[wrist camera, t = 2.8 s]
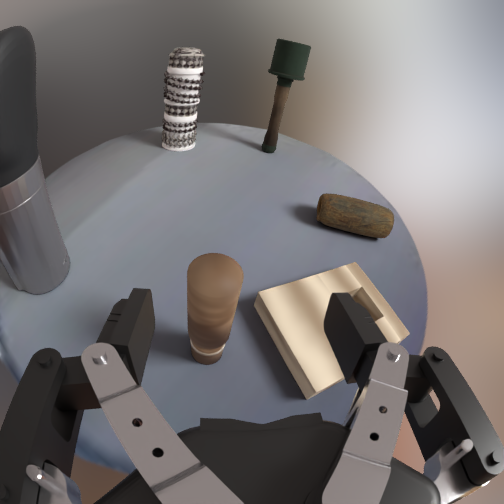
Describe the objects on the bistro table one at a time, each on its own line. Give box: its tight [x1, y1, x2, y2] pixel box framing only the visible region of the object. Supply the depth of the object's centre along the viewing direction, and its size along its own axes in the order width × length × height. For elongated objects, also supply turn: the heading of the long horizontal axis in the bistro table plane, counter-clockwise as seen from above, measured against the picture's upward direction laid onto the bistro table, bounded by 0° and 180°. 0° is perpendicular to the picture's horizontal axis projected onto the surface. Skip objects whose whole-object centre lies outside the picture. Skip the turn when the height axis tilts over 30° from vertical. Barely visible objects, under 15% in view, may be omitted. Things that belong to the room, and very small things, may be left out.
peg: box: [187, 253, 243, 365], centre depth 26 cm, size 4×4×14 cm
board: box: [254, 262, 410, 399], centre depth 35 cm, size 17×14×3 cm
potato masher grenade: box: [262, 39, 311, 153], centre depth 59 cm, size 8×9×30 cm
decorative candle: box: [162, 47, 205, 151], centre depth 56 cm, size 9×9×25 cm
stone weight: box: [317, 194, 394, 238], centre depth 50 cm, size 15×7×7 cm, turn 86°
